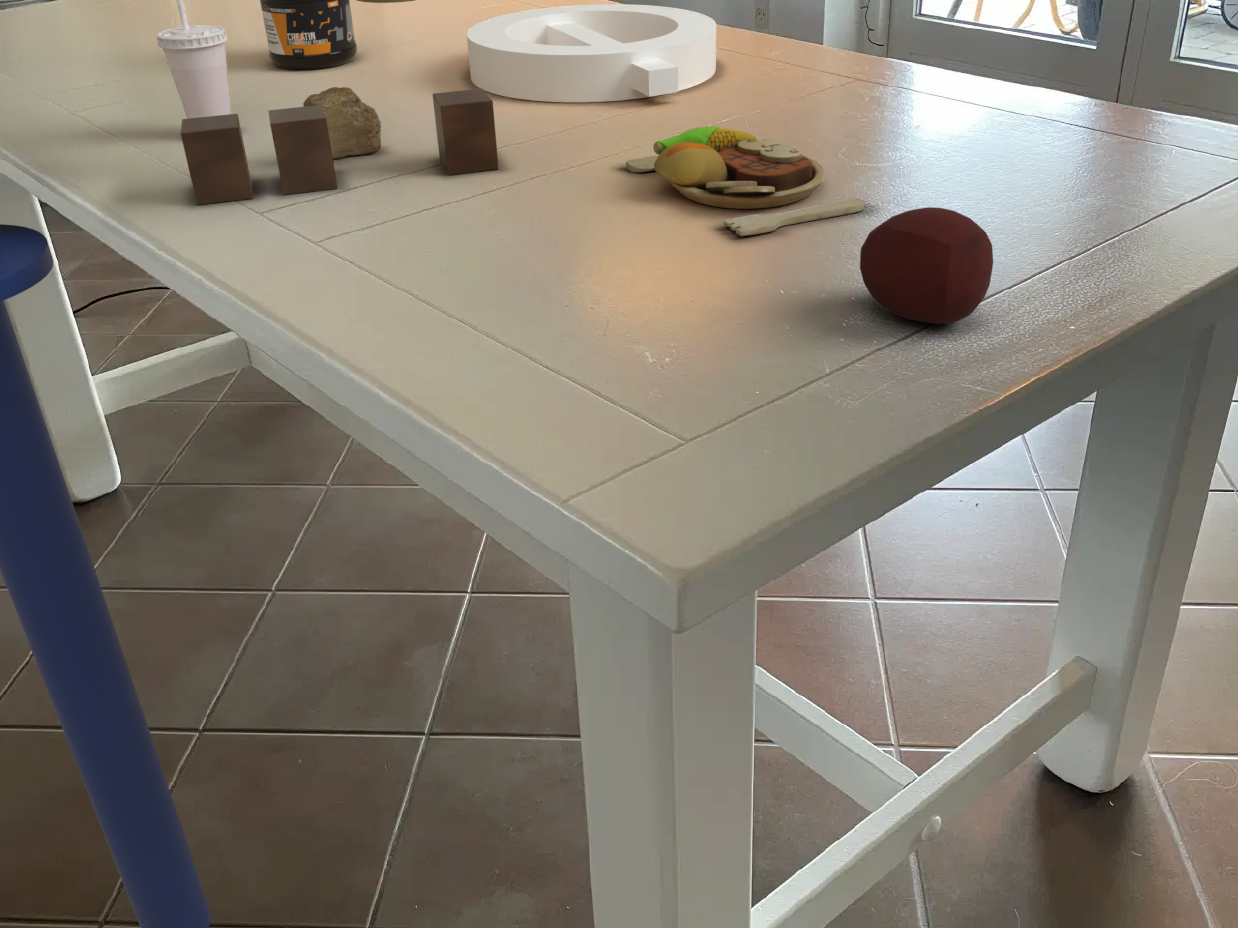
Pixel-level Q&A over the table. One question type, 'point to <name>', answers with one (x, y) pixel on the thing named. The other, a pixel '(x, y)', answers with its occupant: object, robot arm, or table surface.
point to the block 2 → (303, 149)
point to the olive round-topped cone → (385, 1)
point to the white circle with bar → (592, 52)
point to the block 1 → (216, 159)
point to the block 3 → (465, 131)
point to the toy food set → (742, 176)
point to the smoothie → (198, 66)
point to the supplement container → (309, 33)
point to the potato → (928, 265)
